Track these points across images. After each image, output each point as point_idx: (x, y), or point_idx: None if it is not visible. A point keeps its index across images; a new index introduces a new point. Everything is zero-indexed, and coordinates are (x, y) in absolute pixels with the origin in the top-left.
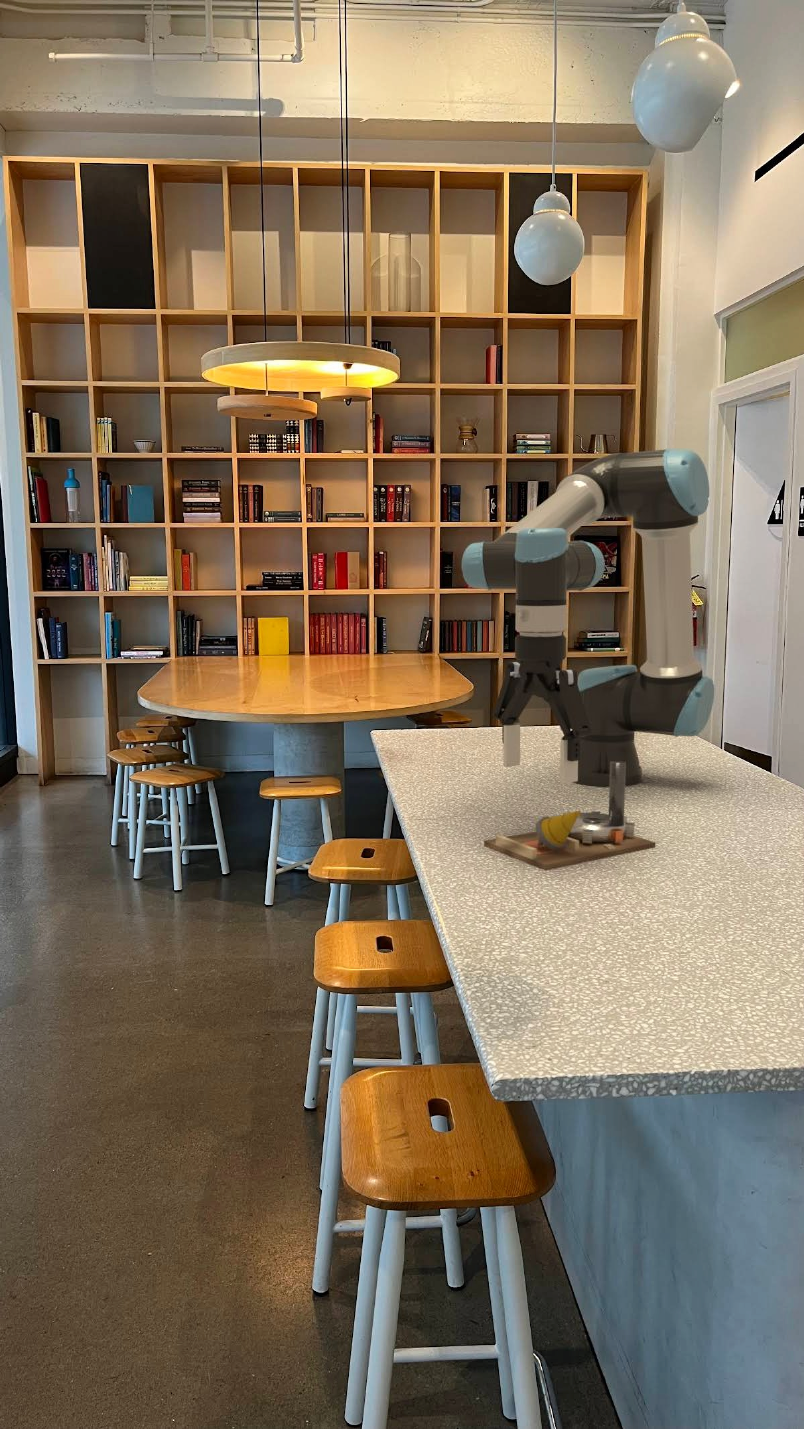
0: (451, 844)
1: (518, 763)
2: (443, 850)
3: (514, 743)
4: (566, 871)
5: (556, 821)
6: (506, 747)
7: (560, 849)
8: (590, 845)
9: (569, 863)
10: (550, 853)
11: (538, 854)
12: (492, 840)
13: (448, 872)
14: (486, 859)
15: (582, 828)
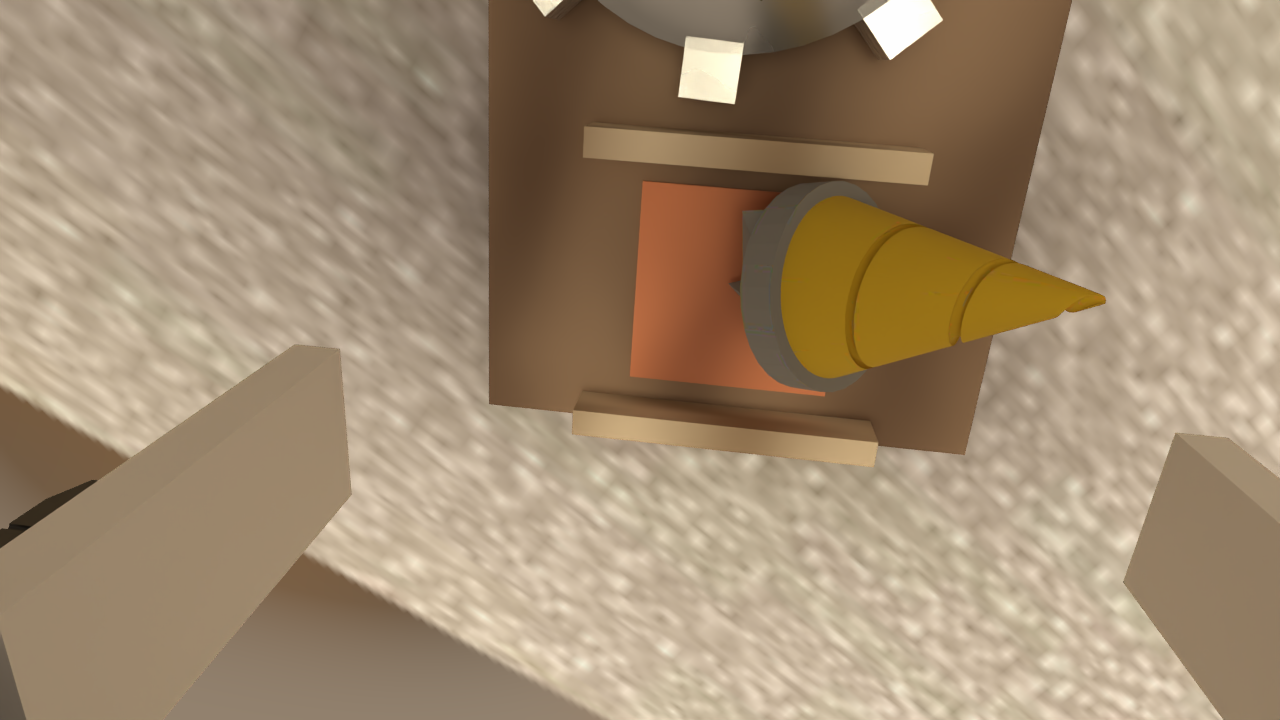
0: (387, 469)
1: (332, 372)
2: (447, 547)
3: (217, 535)
4: (1025, 367)
5: (915, 353)
6: (251, 612)
7: None
8: None
9: None
10: None
11: None
12: (508, 372)
13: (699, 703)
14: (655, 503)
15: (842, 7)
